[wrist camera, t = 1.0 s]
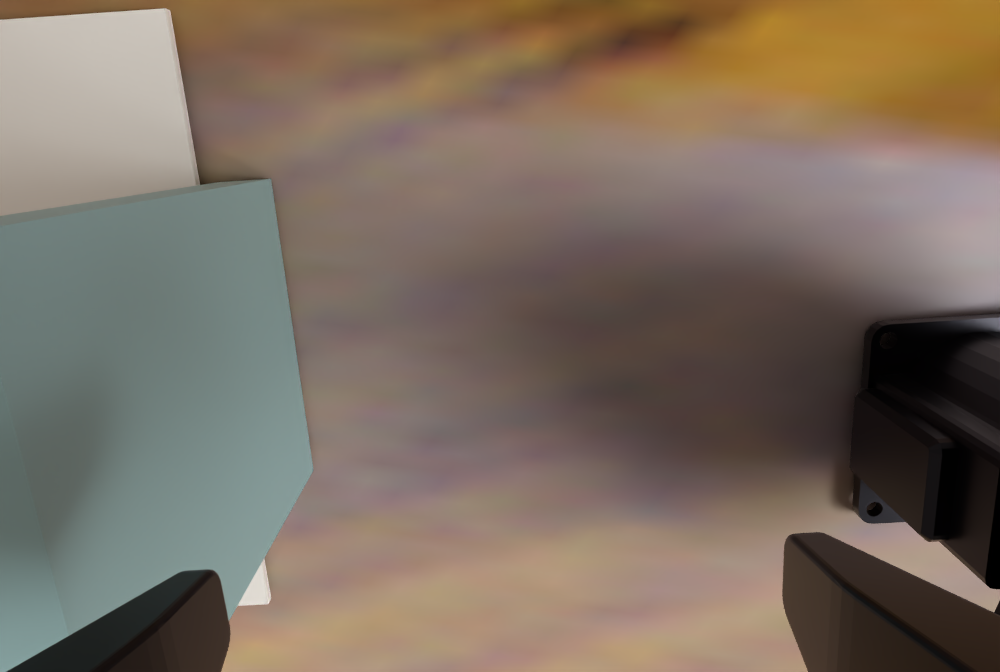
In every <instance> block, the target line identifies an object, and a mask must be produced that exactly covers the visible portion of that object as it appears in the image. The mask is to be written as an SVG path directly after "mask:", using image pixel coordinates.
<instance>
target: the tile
mask: <svg viewBox="0 0 1000 672" xmlns="http://www.w3.org/2000/svg"><path fill="white" fill-rule="evenodd" d="M312 472H313V463H312V457H311V450H310V443H309V436H308V429H307V422H306V415H305V409H304V402H303V395H302V388H301V381H300V374H299V367H298V361H297V354H296V347H295V340H294V333H293V326H292V319H291V313H290V306H289V299H288V292H287V285H286V278H285V271H284V265H283V258H282V251H281V244H280V237H279V230H278V223H277V216H276V210H275V203H274V196H273V189H272V182H271V179H259V180H244V181H229V182H216V183H210V184H203V185H197V186H190V187H184V188H177V189H171V190H165V191H158V192H152V193H145V194H139V195H132V196H126V197H119V198H113V199H106V200H100V201H94V202H87V203H81V204H74V205H68V206H61V207H55V208H48V209H42V210H35V211H29V212H22V213H16V214H10V215H3V216H0V672H6V671H8V670H10V669H12V668H13V667H15V666H17V665H19V664H20V663H22V662H24V661H26V660H27V659H29V658H31V657H33V656H34V655H36V654H38V653H40V652H41V651H43V650H45V649H47V648H48V647H50V646H52V645H53V644H55V643H57V642H59V641H60V640H62V639H64V638H66V637H67V636H69V635H71V634H73V633H74V632H76V631H78V630H80V629H81V628H83V627H85V626H87V625H88V624H90V623H92V622H94V621H95V620H97V619H99V618H100V617H102V616H104V615H106V614H107V613H109V612H111V611H113V610H114V609H116V608H118V607H120V606H121V605H123V604H125V603H127V602H128V601H130V600H132V599H134V598H135V597H137V596H139V595H141V594H142V593H144V592H146V591H147V590H149V589H151V588H153V587H154V586H156V585H158V584H160V583H161V582H163V581H165V580H167V579H168V578H170V577H172V576H174V575H175V574H177V573H179V572H182V571H187V570H204V569H211V570H214V571H215V572H217V573H218V575H219V577H220V580H221V584H222V589H223V594H224V599H225V604H226V609H227V614H228V619H229V620H230V618H231V616H232V615H233V613H234V611H235V609H236V607H237V606H238V604H239V602H240V600H241V599H242V597H243V595H244V593H245V591H246V590H247V588H248V586H249V584H250V582H251V581H252V579H253V577H254V575H255V574H256V572H257V570H258V568H259V566H260V565H261V563H262V561H263V559H264V558H265V556H266V554H267V552H268V550H269V549H270V547H271V545H272V543H273V542H274V540H275V538H276V536H277V534H278V533H279V531H280V529H281V527H282V525H283V524H284V522H285V520H286V518H287V517H288V515H289V513H290V511H291V509H292V508H293V506H294V504H295V502H296V501H297V499H298V497H299V495H300V493H301V492H302V490H303V488H304V486H305V485H306V483H307V481H308V479H309V477H310V476H311V474H312Z"/></svg>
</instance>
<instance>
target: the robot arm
mask: <svg viewBox="0 0 1000 672" xmlns="http://www.w3.org/2000/svg"><path fill="white" fill-rule="evenodd" d="M888 332H890V339H889V341H888V342H887V343H886V344H884V345H880V339H881V337H882V336H883V335H884V334H885V333H888ZM850 469H851V471H852V472H854V473H855V476H854V490H853V503H852V504H853V510H854V511H855V513H856V514H857V515H858V516H859V517H860V518H861V519H862V520H863V521H865V522H867V523H873V524H875V523H892V522H907V523H908V524H909V525H910V526H911V527H912V528H913V529H914V530H915V531H916V532H917V533H918V534H919V535H920V536H922V537H923V538H924V539H925V540H926V541H928V542H934V541H939V542H940V543H941V544H942V545H944V546H945V547H946V548H947V549H948V550H949V551H950V552H951V553H952V554H953V555H955V556H956V557H957V558H958V559H959V560H960V561H961V562H962V563H963V564H964V565H965V566H967V567H968V568H969V569H970V570H971V571H972V572H973V573H974V574H975V575H976V576H977V577H979V578H980V579H981V580H982V581H983V582H984V583H985V584H986V585H987V586H988V587H989V588H992V589H1000V314H986V315H970V316H954V317H937V318H921V319H905V320H889V321H880V322H876V323H875V324H873V325H872V326H870V328H869V329H868V330H867V332H866V335H865V341H864V354H863V368H862V381H861V390H860V391H859V392H858V393H857V395H856V396H855V401H854V415H853V429H852V443H851V457H850ZM873 502H876V505H875V507H874V508H873V509H871V510H866V509H867V506H868V505H869V504H870V503H873ZM782 596H783V604H784V609H785V613H786V616H787V619H788V621H789V624H790V626H791V629H792V631H793V634H794V637H795V639H796V642H797V644H798V647H799V649H800V652H801V655H802V657H803V660H804V662H805V665H806V667H807V670H808V672H1000V601H999V603H998V606H997V608H996V610H995V612H994V613H993V612H991V611H989V610H987V609H985V608H983V607H981V606H978V605H976V604H974V603H972V602H970V601H968V600H966V599H963V598H961V597H959V596H957V595H955V594H953V593H951V592H948V591H946V590H944V589H942V588H940V587H938V586H936V585H934V584H931V583H929V582H927V581H925V580H923V579H921V578H919V577H916V576H914V575H912V574H910V573H908V572H906V571H904V570H902V569H899V568H897V567H895V566H893V565H891V564H889V563H887V562H884V561H882V560H880V559H878V558H876V557H874V556H872V555H870V554H867V553H865V552H863V551H861V550H859V549H857V548H855V547H852V546H850V545H848V544H846V543H844V542H842V541H840V540H838V539H835V538H833V537H831V536H829V535H827V534H825V533H820V532H814V533H798V534H791V535H789V536H788V537H787V539H786V541H785V545H784V565H783V590H782ZM229 642H230V624H229V619H228V614H227V609H226V604H225V599H224V594H223V589H222V584H221V580H220V577H219V575H218V573H217V572H215V571H214V570H211V569H204V570H187V571H182V572H179V573H177V574H175V575H174V576H172V577H170V578H168V579H167V580H165V581H163V582H161V583H160V584H158V585H156V586H154V587H153V588H151V589H149V590H147V591H146V592H144V593H142V594H141V595H139V596H137V597H135V598H134V599H132V600H130V601H128V602H127V603H125V604H123V605H121V606H120V607H118V608H116V609H114V610H113V611H111V612H109V613H107V614H106V615H104V616H102V617H100V618H99V619H97V620H95V621H94V622H92V623H90V624H88V625H87V626H85V627H83V628H81V629H80V630H78V631H76V632H74V633H73V634H71V635H69V636H67V637H66V638H64V639H62V640H60V641H59V642H57V643H55V644H53V645H52V646H50V647H48V648H47V649H45V650H43V651H41V652H40V653H38V654H36V655H34V656H33V657H31V658H29V659H27V660H26V661H24V662H22V663H20V664H19V665H17V666H15V667H13V668H12V669H10V670H8V671H6V672H221V670H222V667H223V664H224V660H225V657H226V654H227V651H228V647H229Z"/></svg>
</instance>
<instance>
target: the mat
mask: <svg viewBox="0 0 1000 672" xmlns="http://www.w3.org/2000/svg"><path fill="white" fill-rule="evenodd" d="M197 185H200V181H199V175H198V169H197V163H196V158H195V152H194V146H193V140H192V134H191V128H190V123H189V117H188V111H187V105H186V99H185V94H184V88H183V82H182V76H181V70H180V64H179V59H178V53H177V47H176V41H175V35H174V30H173V24H172V18H171V12H170V10H168V9H165V8H163V9H149V10H134V11H120V12H106V13H91V14H77V15H63V16H48V17H34V18H20V19H6V20H0V216H3V215H10V214H16V213H22V212H29V211H35V210H42V209H48V208H55V207H61V206H68V205H74V204H81V203H87V202H94V201H100V200H106V199H113V198H119V197H126V196H132V195H139V194H145V193H152V192H158V191H165V190H171V189H177V188H184V187H190V186H197ZM270 600H271V594H270V588H269V583H268V577H267V571H266V565H265V559H263V561H262V563H261V565H260V566H259V568H258V570H257V572H256V574H255V575H254V577H253V579H252V581H251V582H250V584H249V586H248V588H247V590H246V591H245V593H244V595H243V597H242V599H241V600H240V602H239V604H238V606H242V605H260V604H269V602H270Z"/></svg>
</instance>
